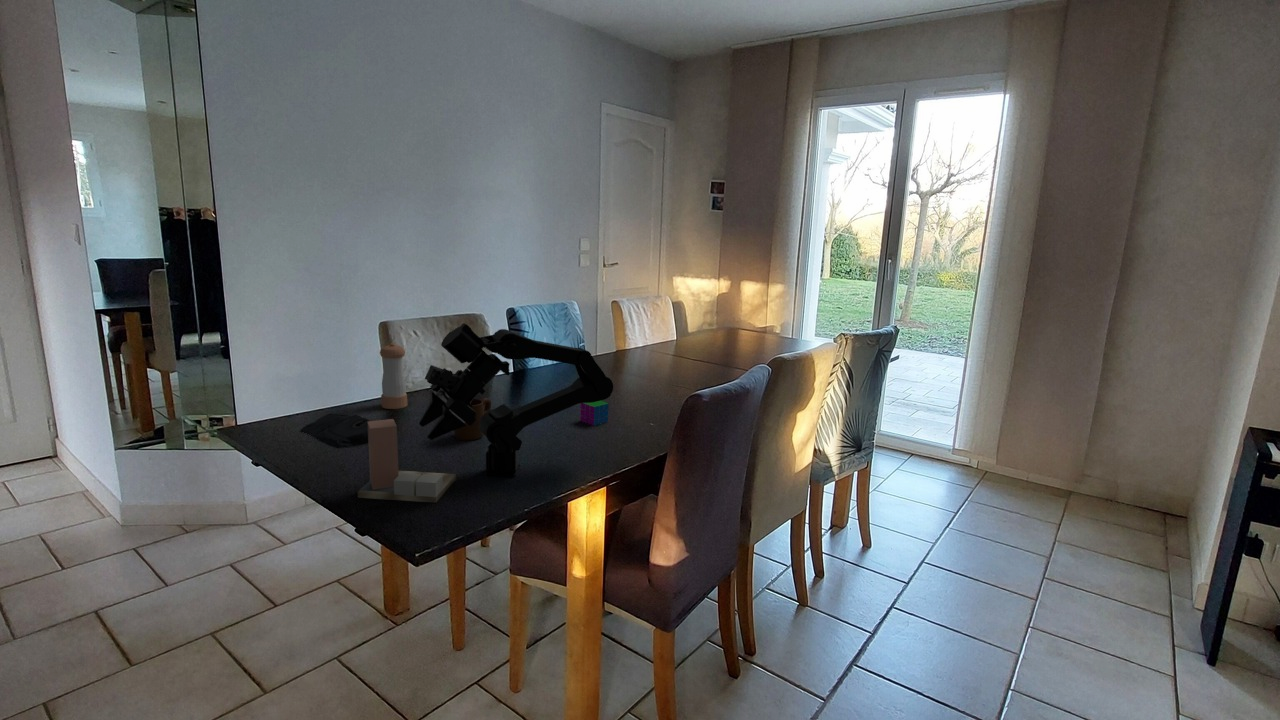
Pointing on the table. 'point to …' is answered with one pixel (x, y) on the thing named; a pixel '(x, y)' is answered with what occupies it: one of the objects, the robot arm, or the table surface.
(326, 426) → the dark slate chunk
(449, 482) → the board
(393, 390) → the salt shaker
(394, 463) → the tower block
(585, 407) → the puzzle toy
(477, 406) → the mug
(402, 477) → the built blocks
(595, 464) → the table surface
